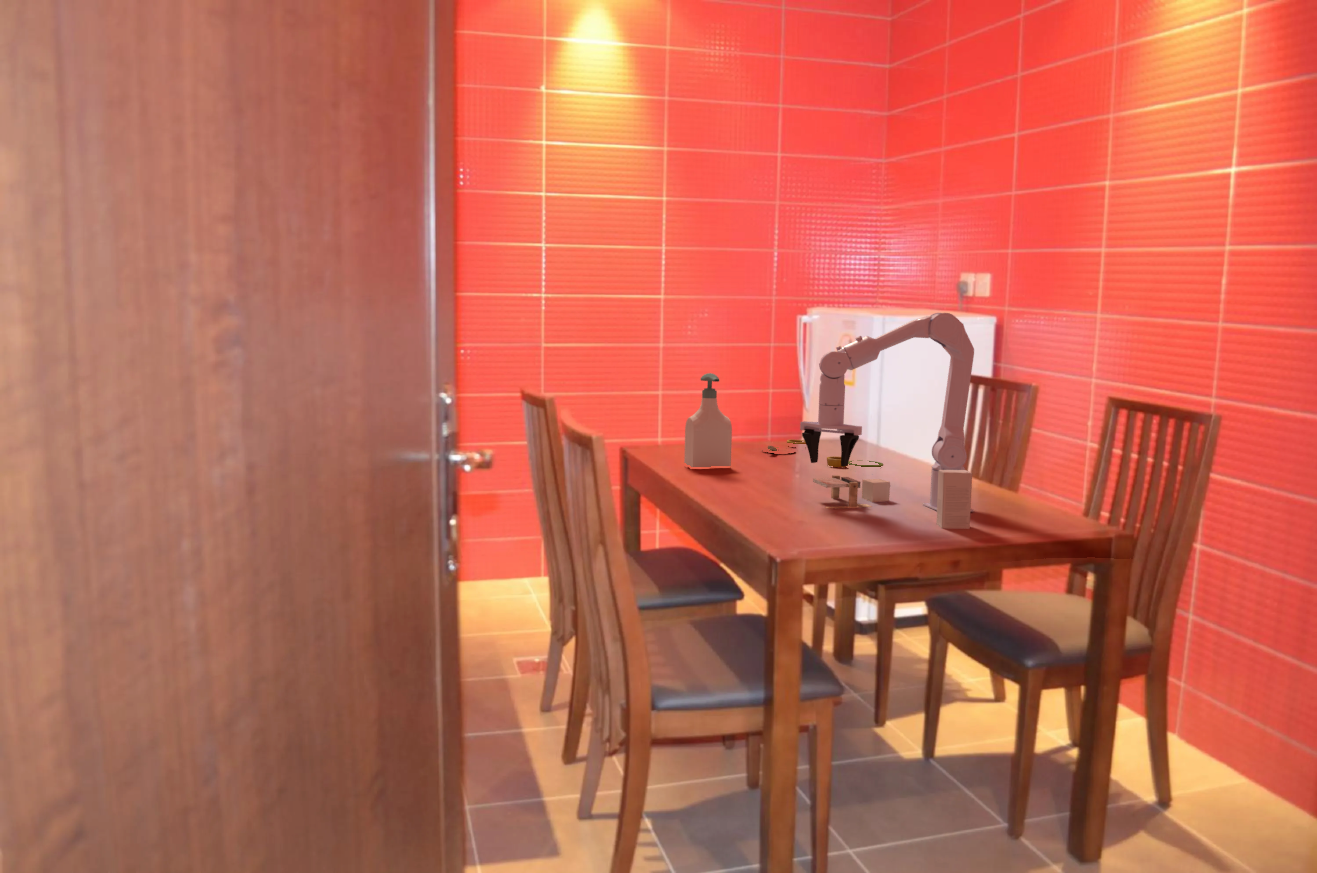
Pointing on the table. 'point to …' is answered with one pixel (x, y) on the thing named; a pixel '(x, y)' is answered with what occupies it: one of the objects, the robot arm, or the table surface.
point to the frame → (852, 495)
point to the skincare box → (954, 499)
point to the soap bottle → (708, 431)
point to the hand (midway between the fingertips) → (829, 464)
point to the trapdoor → (835, 482)
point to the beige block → (875, 490)
